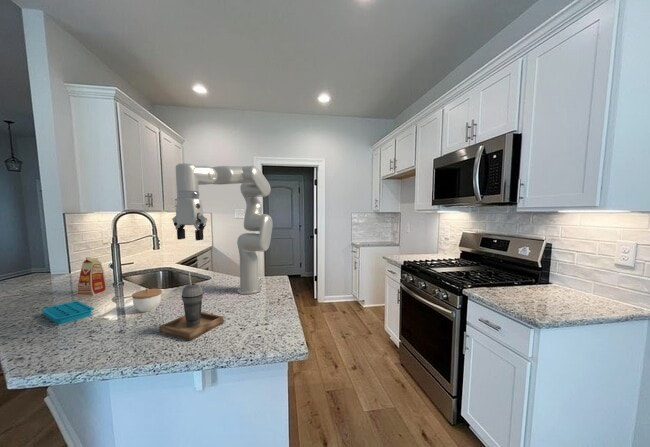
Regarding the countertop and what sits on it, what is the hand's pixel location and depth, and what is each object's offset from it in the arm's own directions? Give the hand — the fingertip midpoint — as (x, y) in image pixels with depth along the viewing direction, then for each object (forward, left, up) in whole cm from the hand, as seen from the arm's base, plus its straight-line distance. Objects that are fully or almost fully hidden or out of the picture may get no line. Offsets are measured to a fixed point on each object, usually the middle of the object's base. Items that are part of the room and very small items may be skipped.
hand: (190, 239), depth 100 cm
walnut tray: (+5, +6, -33) cm, 33 cm away
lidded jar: (0, -28, -33) cm, 43 cm away
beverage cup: (+5, +6, -32) cm, 33 cm away
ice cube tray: (+17, -53, -33) cm, 65 cm away
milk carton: (-3, -78, -33) cm, 85 cm away
